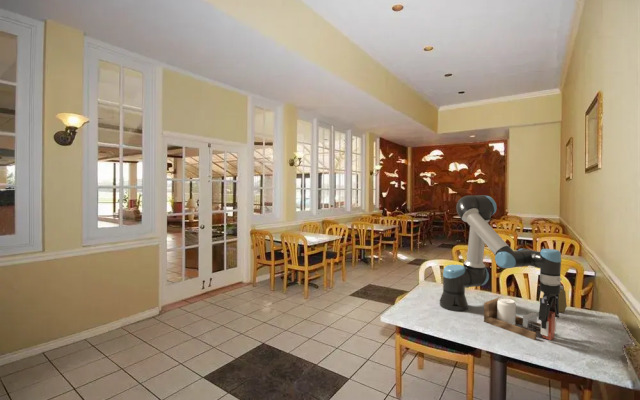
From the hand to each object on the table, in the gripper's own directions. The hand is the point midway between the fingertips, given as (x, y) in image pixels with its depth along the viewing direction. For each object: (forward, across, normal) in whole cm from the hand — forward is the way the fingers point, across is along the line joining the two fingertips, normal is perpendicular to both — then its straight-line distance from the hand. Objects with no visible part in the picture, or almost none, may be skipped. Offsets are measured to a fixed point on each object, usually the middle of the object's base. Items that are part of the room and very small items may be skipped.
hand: (548, 332), depth 146 cm
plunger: (+2, 0, +4) cm, 4 cm away
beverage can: (+3, 0, +19) cm, 19 cm away
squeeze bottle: (+3, +42, +12) cm, 44 cm away
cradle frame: (+3, 0, +15) cm, 15 cm away
